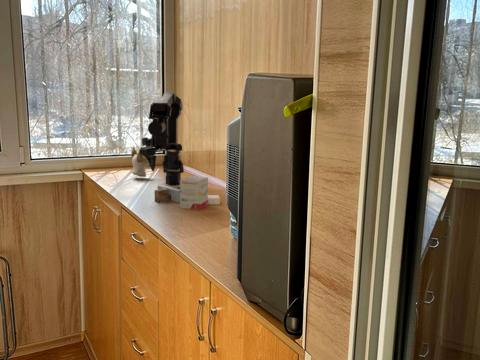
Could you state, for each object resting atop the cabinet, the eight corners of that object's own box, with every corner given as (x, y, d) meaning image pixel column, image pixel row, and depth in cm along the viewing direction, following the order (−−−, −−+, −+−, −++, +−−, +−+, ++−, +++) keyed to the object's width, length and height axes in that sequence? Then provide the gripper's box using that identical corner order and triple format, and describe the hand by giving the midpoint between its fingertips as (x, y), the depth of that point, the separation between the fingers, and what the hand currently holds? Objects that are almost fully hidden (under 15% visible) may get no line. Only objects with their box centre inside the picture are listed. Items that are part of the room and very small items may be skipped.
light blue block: (162, 196, 207) (162, 184, 206) (182, 202, 199) (182, 190, 197) (157, 197, 205) (157, 185, 204) (178, 203, 197) (178, 191, 196)
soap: (197, 205, 195) (197, 198, 195) (197, 201, 201) (197, 194, 200) (219, 205, 196) (220, 197, 196) (219, 201, 202) (219, 194, 201)
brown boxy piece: (180, 196, 208) (180, 184, 207) (184, 197, 206) (184, 185, 205) (154, 202, 197) (154, 190, 196) (158, 203, 196) (158, 191, 195)
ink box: (208, 205, 194) (209, 176, 192) (199, 211, 186) (199, 181, 184) (189, 203, 197) (189, 174, 194) (179, 208, 189) (179, 178, 187)
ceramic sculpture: (153, 178, 241) (152, 148, 237) (136, 180, 236) (135, 149, 233) (144, 174, 249) (143, 145, 246) (128, 176, 245) (127, 146, 241)
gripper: (165, 128, 213) (166, 163, 217) (130, 132, 199) (131, 169, 203) (182, 131, 206) (183, 167, 210) (147, 135, 192) (148, 174, 196)
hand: (161, 169), depth 205 cm, fingers open, 9 cm apart
